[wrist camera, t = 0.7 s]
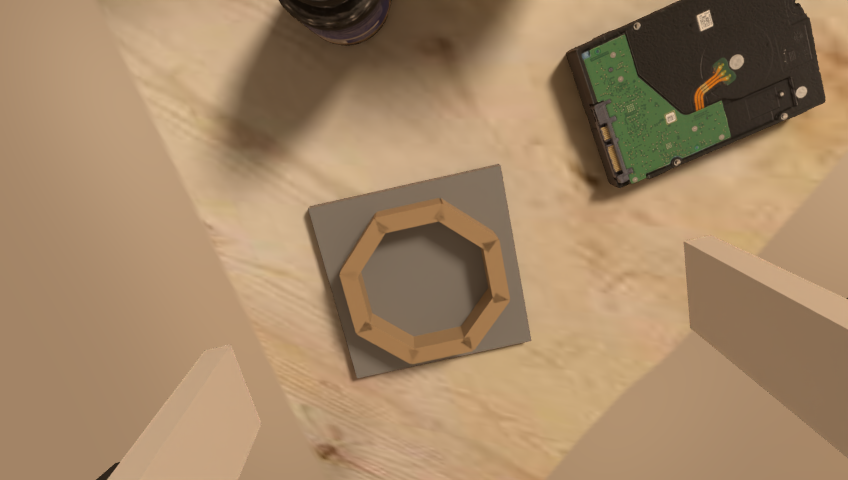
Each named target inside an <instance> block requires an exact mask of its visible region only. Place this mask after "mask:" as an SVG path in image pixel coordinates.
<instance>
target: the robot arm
mask: <svg viewBox="0 0 848 480" xmlns="http://www.w3.org/2000/svg"><path fill="white" fill-rule="evenodd" d="M684 252H685V266H686V279H687V292H688V305H689V319H690V328H691V329H692V330H693V331H695V332H696V333H697V334H698V335H700V336H701V337H702V338H703V339H704V340H706V341H707V342H708V343H709V344H710V345H712V346H713V347H714V348H716V350H718V351H719V352H720V353H721V354H723V355H724V356H725V357H726V358H727V359H729V360H730V361H731V362H732V363H733V364H735V365H736V366H737V367H738V368H739V369H741V370H742V371H743V372H744V373H746V374H747V375H748V376H749V377H751V378H752V379H753V380H754V381H755V382H756V383H758V384H759V385H760V386H761V387H763V388H764V389H765V390H766V391H767V392H769V393H770V394H771V395H772V396H773V397H775V398H776V399H777V400H779V401H780V402H781V403H782V404H783V405H784V406H786V407H787V408H788V409H789V410H790V411H792V412H793V413H794V414H795V415H797V416H798V417H799V418H800V419H801V420H802V421H804V422H805V423H806V424H807V425H809V426H810V427H811V428H812V429H814V430H815V431H816V432H817V433H818V434H819V435H821V436H822V437H823V438H824V439H826V440H827V441H828V442H829V443H830V444H832V445H833V446H834V447H835V448H836V449H838V450H839V451H840V452H841V453H842V454H844V455H845V456H846V457H847V458H848V298H844V297H841V296H839V295H837V294H835V293H833V292H831V291H829V290H827V289H824V288H822V287H820V286H818V285H816V284H814V283H812V282H810V281H808V280H806V279H803V278H801V277H799V276H797V275H795V274H793V273H791V272H789V271H786V270H784V269H782V268H780V267H778V266H776V265H774V264H772V263H769V262H767V261H765V260H763V259H761V258H759V257H757V256H755V255H752V254H750V253H748V252H746V251H744V250H742V249H740V248H738V247H735V246H733V245H731V244H729V243H727V242H725V241H723V240H721V239H718V238H716V237H714V236H712V235H708V236H704V237H699V238H695V239H691V240H686V241H684ZM260 426H261V421H260V419H259V416H258V414H257V411H256V408H255V406H254V403H253V401H252V398H251V396H250V393H249V390H248V388H247V385H246V383H245V380H244V378H243V375H242V372H241V370H240V367H239V365H238V362H237V359H236V357H235V354H234V352H233V349H232V346H231V345H226V346H222V347H217V348H213V349H208V350H205V351H204V352H203V353H202V355H201V356H200V358H199V359H198V360H197V362H196V363H195V364H194V365H193V367H192V368H191V369H190V371H189V372H188V373H187V375H186V376H185V377H184V379H183V380H182V381H181V383H180V384H179V385H178V387H177V388H176V389H175V391H174V392H173V393H172V394H171V396H170V397H169V398H168V400H167V401H166V402H165V404H164V405H163V406H162V408H161V409H160V410H159V412H158V413H157V415H156V416H155V417H154V418H153V420H152V421H151V422H150V424H149V425H148V426H147V428H146V429H145V430H144V432H143V433H142V434H141V435H140V437H139V438H138V440H137V441H136V442H135V443H134V445H133V446H132V448H131V449H130V450H129V451H128V453H127V454H126V455H125V457H124V458H123V459H122V461H121V462H118V463H115V464H114V465H113V466H112V467H110V468H109V469H108V470H107V471H106V472H105V473H104V474H102V475H101V476H100V477H99V478H98V479H97V480H238V478H239V475H240V473H241V471H242V469H243V466H244V464H245V461H246V459H247V456H248V454H249V452H250V449H251V447H252V445H253V442H254V440H255V438H256V435H257V433H258V430H259V428H260Z"/></svg>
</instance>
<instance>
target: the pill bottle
mask: <svg viewBox="0 0 848 480" xmlns="http://www.w3.org/2000/svg"><path fill="white" fill-rule="evenodd" d="M279 1H280V3H281V5H282V6H283V7H284V8H285V9H286V10H287V11H288V12H289V13H290V14H291V16H293V17H294V18H296V19H297V20H299V21H300V22H301V23H303V24H304V25H305V26H306V27H308V28H309V29H310V30H311V31H313V32H314V33H315V34H317V35H318V36H319V37H321V38H323V39H325V40H326V41H328V42H332V43H335V44H340V45H353V44H358V43H361V42H363V41H365V40H367V39H369V38H371V37H372V36H373V35H375V34H376V33H377V32H378V31H379V30H380V28H381V27H382V26H383V24H384V23H385V21H386V18H387V15H388V11H389V7H390V3H391V0H279Z"/></svg>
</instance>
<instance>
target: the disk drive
mask: <svg viewBox="0 0 848 480" xmlns="http://www.w3.org/2000/svg"><path fill="white" fill-rule="evenodd" d="M566 56H567V59H568V61H569V64H570V67H571V70H572V72H573V76H574V79H575V82H576V85H577V88H578V91H579V94H580V97H581V100H582V103H583V106H584V109H585V112H586V114H587V116H588V120H589V123H590V126H591V130H592V133H593V136H594V139H595V142H596V145H597V147H598V150H599V153H600V156H601V159H602V162H603V165H604V168H605V171H606V174H607V177H608V180H609V183H610V184H612V185H614V186H616V187H618V188H621V187H624V186H626V185H628V184H634V183H636V182H638V181H640V180H643V179H645V178H647V179H650V178H653V177H655V176H658V175H660V174H662V173H664V172H666V171H668V170H670V169H672V168H674V167H677V166H679V165H681V164H684V163H686V162H688V161H691V160H693V159H696V158H698V157H700V156H703V155H705V154H708V153H710V152H712V151H714V150H716V149H719V148H722V147H723V146H726V145H728V144H731V143H733V142H735V141H737V140H740V139H742V138H744V137H746V136H749V135H752V134H754V133H756V132H758V131H761V130H763V129H765V128H767V127H770V126H772V125H775V124H777V123H779V122H781V121H784V120H787V119H790V118H792V117H795V116H797V115H799V114H802V113H804V112H806V111H808V110H809V109H812V108H814V107H816V106H818V105H820V104H823V103H824V102H825V94H824V89H823V84H822V80H821V74H820V72H819V66H818V61H817V55H816V50H815V43H814V38H813V35H812V28H811V23H810V18H808V17H807V15H806V14H805V13H804V10H803V8H802V7H801V5H800V4H799V3H797V4H796V3H795V0H679V1H677V2H675V3H672V4H670V5H668V6H666V7H664V8H662V9H660V10H657V11H655V12H653V13H651V14H649V15H647V16H644V17H642V18H640V19H638V20H636V21H633V22H631V23H629V24H627V25H624V26H622V27H620V28H618V29H615V30H612V31H609V32H607V33H605V34H602V35H600V36H598V37H596V38H594V39H592V40H591V41H589V42H587V43H585V44H583V45H580V46H578V47H575V48H574V49H571V50H569V51H568V52H567V53H566Z"/></svg>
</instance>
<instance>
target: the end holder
mask: <svg viewBox="0 0 848 480" xmlns="http://www.w3.org/2000/svg"><path fill="white" fill-rule="evenodd" d="M308 210H309V214H310V217H311V221H312V224H313V227H314V231H315V234H316V238H317V241H318V245H319V248H320V252H321V255H322V259H323V262H324V266H325V269H326V272H327V276H328V279H329V283H330V286H331V290H332V293H333V297H334V300H335V304H336V307H337V310H338V314H339V317H340V321H341V324H342V328H343V331H344V335H345V338H346V342H347V345H348V349H349V352H350V355H351V359H352V362H353V366H354V369H355V373H356V376H357V378H362V377H366V376H371V375H376V374H380V373H385V372H390V371H394V370H399V369H403V368H408V367H413V366H417V365H422V364H427V363H431V362H436V361H440V360H445V359H450V358H454V357H459V356H464V355H468V354H473V353H477V352H482V351H487V350H491V349H496V348H500V347H505V346H510V345H514V344H519V343H524V342H528V341H531V336H530V330H529V324H528V319H527V313H526V307H525V302H524V296H523V290H522V285H521V279H520V273H519V268H518V262H517V256H516V251H515V245H514V239H513V234H512V228H511V222H510V217H509V211H508V205H507V200H506V194H505V188H504V183H503V177H502V171H501V166H500V165H499V164H497V165H492V166H488V167H483V168H479V169H475V170H470V171H466V172H461V173H457V174H452V175H448V176H443V177H439V178H434V179H430V180H425V181H421V182H417V183H412V184H408V185H403V186H399V187H394V188H390V189H385V190H381V191H376V192H372V193H367V194H363V195H359V196H354V197H350V198H345V199H341V200H336V201H332V202H327V203H323V204H318V205H314V206H310V207H309V208H308Z"/></svg>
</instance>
